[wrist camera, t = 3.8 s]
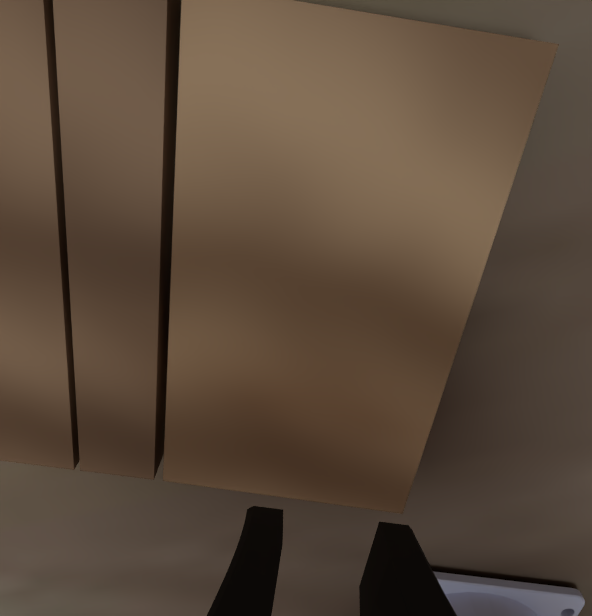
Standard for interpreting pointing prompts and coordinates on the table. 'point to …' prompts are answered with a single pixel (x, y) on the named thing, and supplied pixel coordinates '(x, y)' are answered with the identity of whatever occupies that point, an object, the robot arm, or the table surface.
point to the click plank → (330, 238)
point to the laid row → (86, 230)
